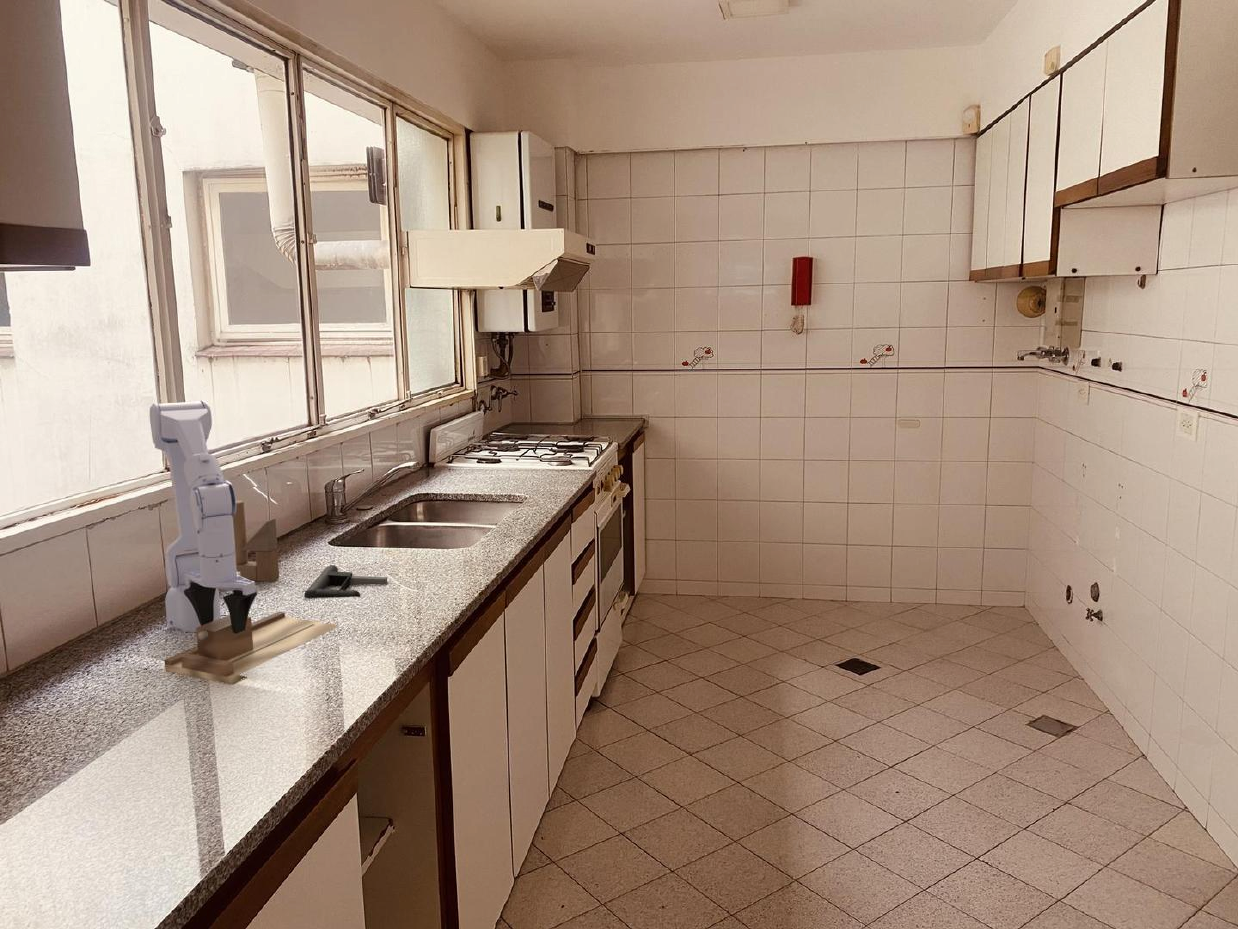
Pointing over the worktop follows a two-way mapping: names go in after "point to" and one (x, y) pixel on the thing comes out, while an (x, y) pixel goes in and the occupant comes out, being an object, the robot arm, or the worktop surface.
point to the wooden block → (255, 549)
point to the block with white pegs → (223, 639)
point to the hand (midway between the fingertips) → (223, 628)
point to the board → (268, 643)
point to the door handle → (339, 584)
